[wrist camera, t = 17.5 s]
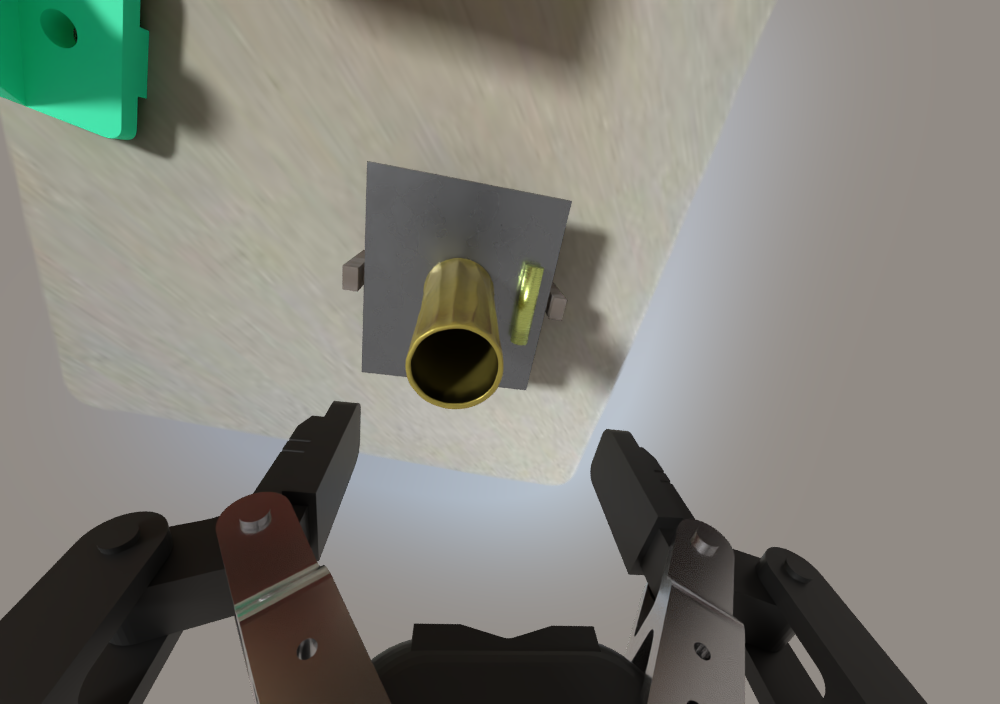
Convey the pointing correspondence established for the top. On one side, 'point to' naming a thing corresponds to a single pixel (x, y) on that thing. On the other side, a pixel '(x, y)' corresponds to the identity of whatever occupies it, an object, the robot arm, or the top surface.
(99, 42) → the camera mount
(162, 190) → the top surface
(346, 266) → the levelling stand
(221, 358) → the top surface
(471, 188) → the tilt plate
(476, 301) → the vase
